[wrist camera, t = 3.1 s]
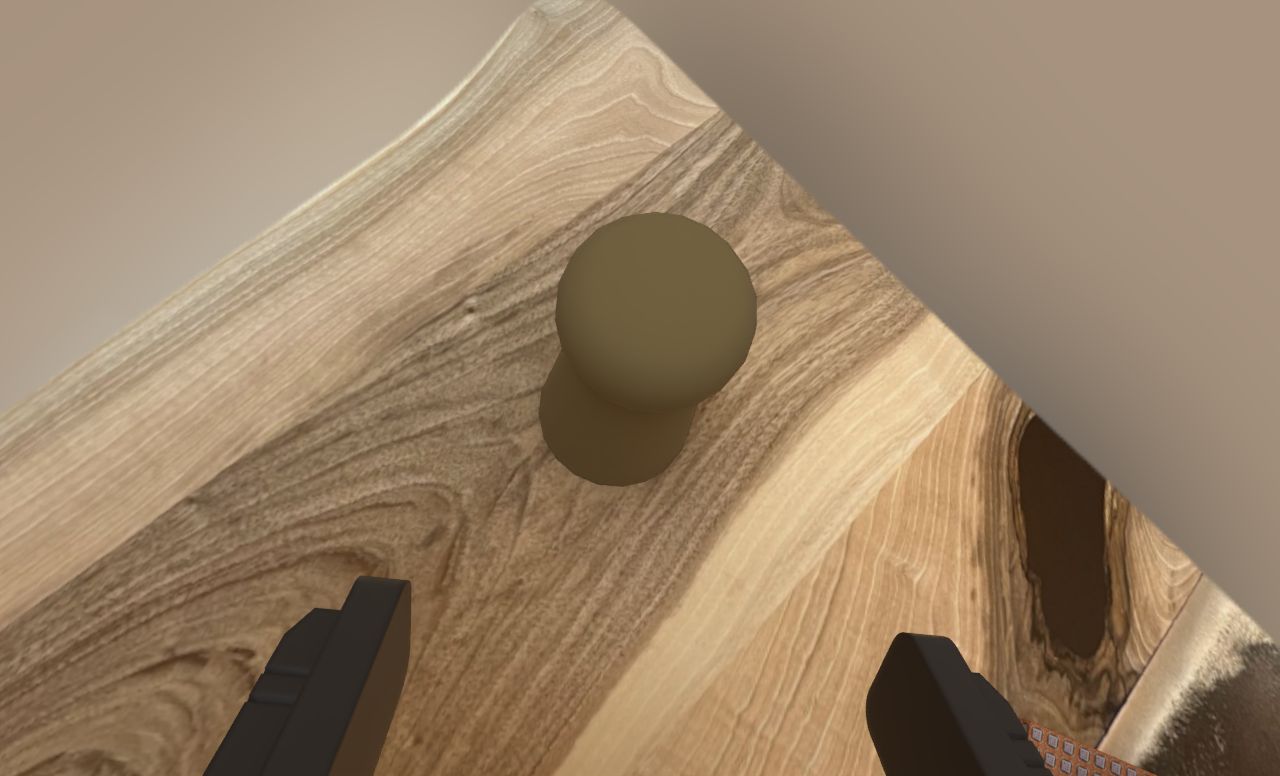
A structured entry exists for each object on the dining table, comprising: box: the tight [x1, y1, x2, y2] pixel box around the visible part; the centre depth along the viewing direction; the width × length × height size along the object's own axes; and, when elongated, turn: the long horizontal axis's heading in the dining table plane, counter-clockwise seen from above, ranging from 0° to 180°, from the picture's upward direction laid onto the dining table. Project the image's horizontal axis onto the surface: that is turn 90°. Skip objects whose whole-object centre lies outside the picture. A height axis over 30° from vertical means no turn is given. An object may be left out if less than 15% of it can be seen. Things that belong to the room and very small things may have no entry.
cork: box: [539, 212, 757, 486], centre depth 20 cm, size 6×6×11 cm
